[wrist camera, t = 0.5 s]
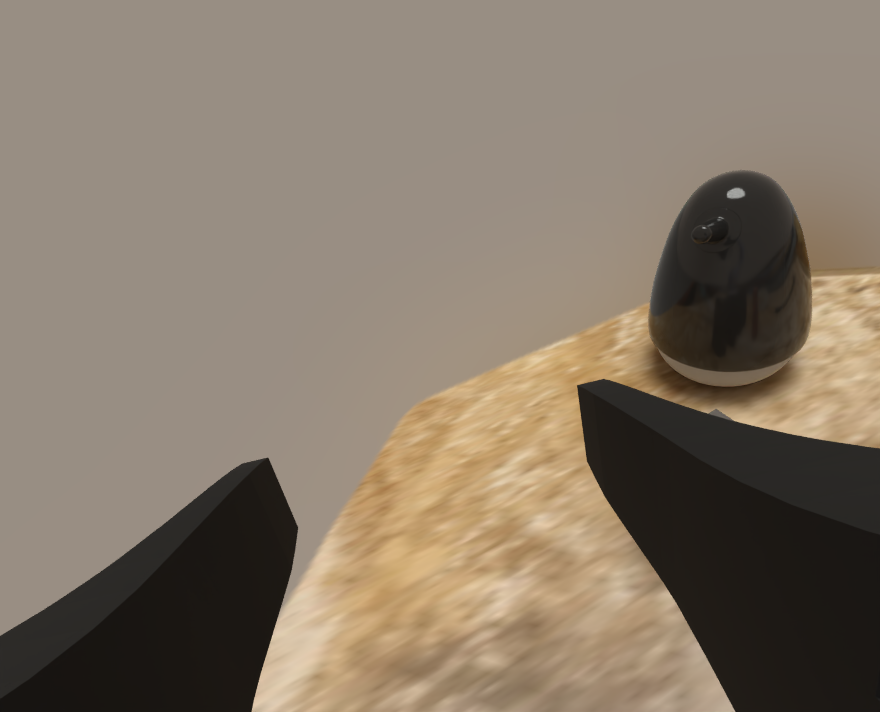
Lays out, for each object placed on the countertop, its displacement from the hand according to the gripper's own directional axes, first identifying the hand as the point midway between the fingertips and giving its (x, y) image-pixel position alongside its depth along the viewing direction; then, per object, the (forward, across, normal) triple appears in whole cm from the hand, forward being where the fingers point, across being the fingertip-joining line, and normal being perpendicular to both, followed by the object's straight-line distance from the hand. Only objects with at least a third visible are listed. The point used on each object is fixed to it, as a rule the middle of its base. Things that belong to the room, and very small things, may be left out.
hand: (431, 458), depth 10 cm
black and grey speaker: (+24, -22, +13) cm, 35 cm away
